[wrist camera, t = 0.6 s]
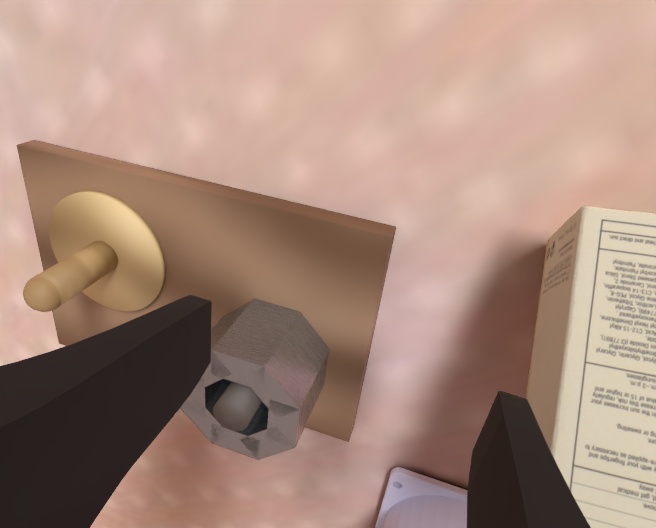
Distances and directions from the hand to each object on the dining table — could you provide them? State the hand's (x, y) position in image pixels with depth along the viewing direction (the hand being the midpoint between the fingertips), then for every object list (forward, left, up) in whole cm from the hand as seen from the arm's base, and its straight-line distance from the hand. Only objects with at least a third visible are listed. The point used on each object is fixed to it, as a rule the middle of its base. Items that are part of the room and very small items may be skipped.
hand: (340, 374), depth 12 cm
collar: (-8, +5, -8) cm, 12 cm away
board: (-6, +9, -9) cm, 14 cm away
